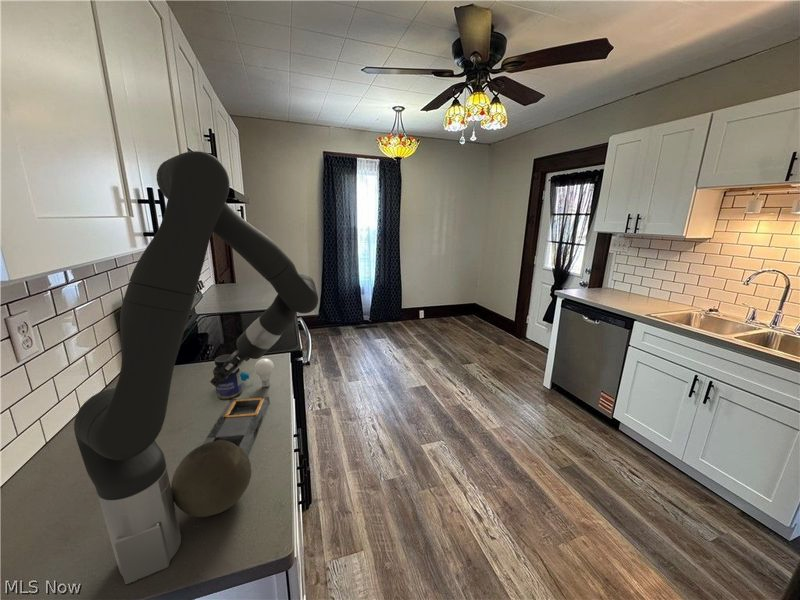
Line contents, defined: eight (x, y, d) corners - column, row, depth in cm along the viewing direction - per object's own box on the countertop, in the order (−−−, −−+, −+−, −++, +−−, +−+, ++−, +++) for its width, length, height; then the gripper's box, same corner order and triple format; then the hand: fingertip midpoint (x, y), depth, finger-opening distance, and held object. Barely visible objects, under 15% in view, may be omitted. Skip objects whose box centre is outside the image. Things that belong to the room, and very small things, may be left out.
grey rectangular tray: (243, 466, 80) (242, 457, 79) (191, 472, 78) (190, 462, 77) (269, 403, 106) (269, 396, 106) (231, 406, 105) (230, 398, 104)
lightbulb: (252, 388, 115) (249, 360, 112) (267, 380, 121) (264, 354, 118) (265, 392, 113) (262, 364, 110) (279, 384, 118) (276, 357, 115)
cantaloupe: (194, 486, 74) (184, 431, 70) (259, 476, 77) (253, 423, 73) (166, 546, 61) (152, 482, 57) (246, 531, 64) (237, 469, 60)
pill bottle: (214, 403, 82) (207, 364, 79) (220, 390, 88) (214, 354, 85) (240, 399, 84) (234, 361, 81) (244, 387, 89) (240, 351, 86)
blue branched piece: (253, 376, 121) (243, 368, 112) (253, 391, 118) (242, 384, 109) (223, 381, 119) (210, 373, 111) (222, 397, 116) (208, 390, 108)
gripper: (261, 317, 87) (224, 356, 91) (233, 337, 73) (191, 382, 77) (282, 335, 89) (245, 373, 92) (259, 358, 75) (216, 401, 78)
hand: (221, 377), depth 84 cm, fingers closed on pill bottle, 6 cm apart
